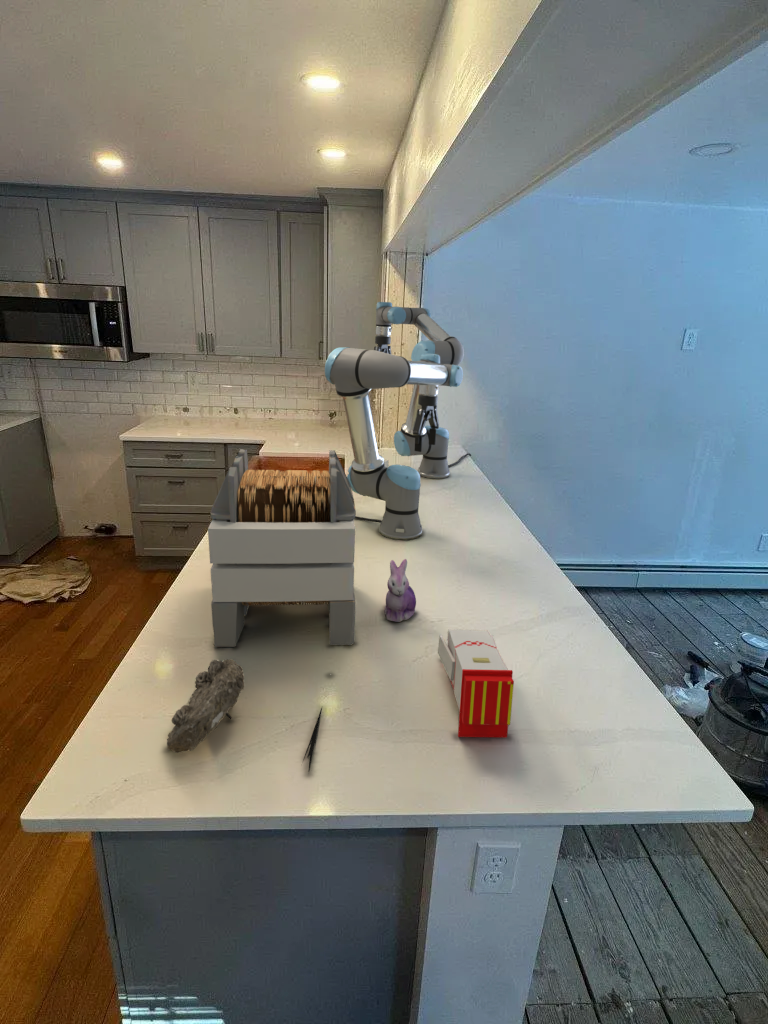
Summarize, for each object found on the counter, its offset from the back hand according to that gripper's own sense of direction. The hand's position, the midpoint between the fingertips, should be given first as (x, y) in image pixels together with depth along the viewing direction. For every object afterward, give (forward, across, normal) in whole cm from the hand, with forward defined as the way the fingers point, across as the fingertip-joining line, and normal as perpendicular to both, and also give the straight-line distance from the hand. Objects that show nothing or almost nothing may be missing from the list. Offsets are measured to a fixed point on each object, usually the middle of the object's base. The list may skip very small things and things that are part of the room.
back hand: (381, 380), depth 282 cm
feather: (+41, -183, -78) cm, 203 cm away
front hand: (+18, -49, -44) cm, 69 cm away
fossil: (+41, -192, -60) cm, 205 cm away
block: (+41, -41, -19) cm, 61 cm away
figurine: (+41, -139, -75) cm, 163 cm away
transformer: (+41, -152, -49) cm, 165 cm away
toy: (+41, -161, -101) cm, 194 cm away
